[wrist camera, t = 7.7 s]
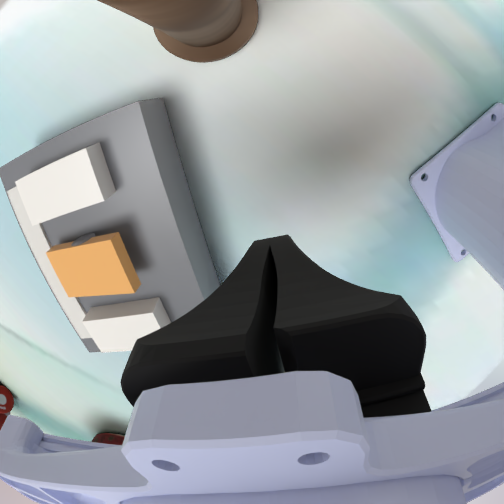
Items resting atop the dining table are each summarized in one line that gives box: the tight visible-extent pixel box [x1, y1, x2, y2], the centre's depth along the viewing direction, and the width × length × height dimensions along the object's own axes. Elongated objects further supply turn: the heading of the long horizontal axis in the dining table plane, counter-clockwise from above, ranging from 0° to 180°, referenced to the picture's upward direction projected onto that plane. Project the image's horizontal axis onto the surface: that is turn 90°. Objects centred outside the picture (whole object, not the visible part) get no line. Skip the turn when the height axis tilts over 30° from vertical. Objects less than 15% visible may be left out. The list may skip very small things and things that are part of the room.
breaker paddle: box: [46, 232, 141, 297], centre depth 16 cm, size 5×3×2 cm, turn 103°
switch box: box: [0, 98, 220, 353], centre depth 18 cm, size 10×14×5 cm
